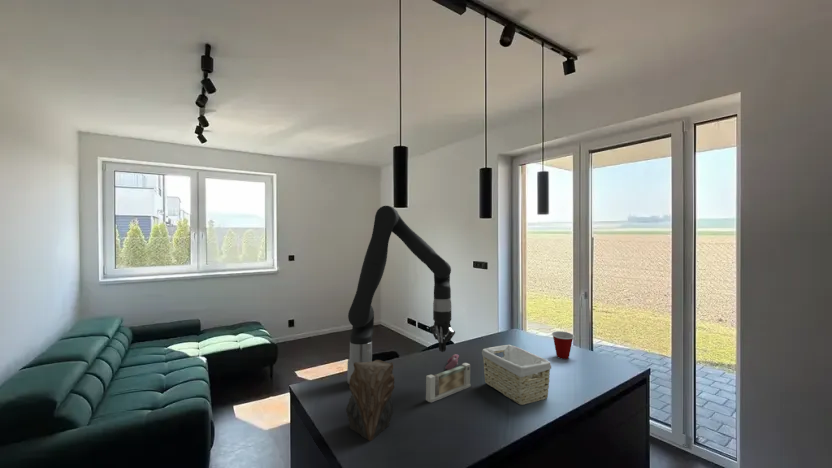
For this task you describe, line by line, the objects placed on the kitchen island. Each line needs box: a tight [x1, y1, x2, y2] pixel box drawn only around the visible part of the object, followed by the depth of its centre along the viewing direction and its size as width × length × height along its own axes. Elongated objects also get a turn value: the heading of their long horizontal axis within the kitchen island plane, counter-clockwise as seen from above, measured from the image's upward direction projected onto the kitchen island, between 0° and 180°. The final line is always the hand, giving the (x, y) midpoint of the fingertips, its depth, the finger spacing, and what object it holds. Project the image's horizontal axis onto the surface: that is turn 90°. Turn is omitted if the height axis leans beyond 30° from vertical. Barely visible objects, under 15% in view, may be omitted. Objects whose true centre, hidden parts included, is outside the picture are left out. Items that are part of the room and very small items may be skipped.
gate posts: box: [425, 362, 472, 403], centre depth 134 cm, size 22×3×9 cm, turn 130°
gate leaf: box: [432, 365, 465, 396], centre depth 134 cm, size 16×2×7 cm, turn 130°
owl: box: [345, 359, 395, 442], centre depth 110 cm, size 13×13×20 cm
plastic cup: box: [551, 330, 575, 360], centre depth 177 cm, size 11×11×12 cm
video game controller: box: [444, 353, 460, 371], centre depth 162 cm, size 10×5×7 cm, turn 169°
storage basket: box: [481, 344, 552, 406], centre depth 137 cm, size 24×16×15 cm
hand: (442, 351), depth 141 cm, fingers closed
